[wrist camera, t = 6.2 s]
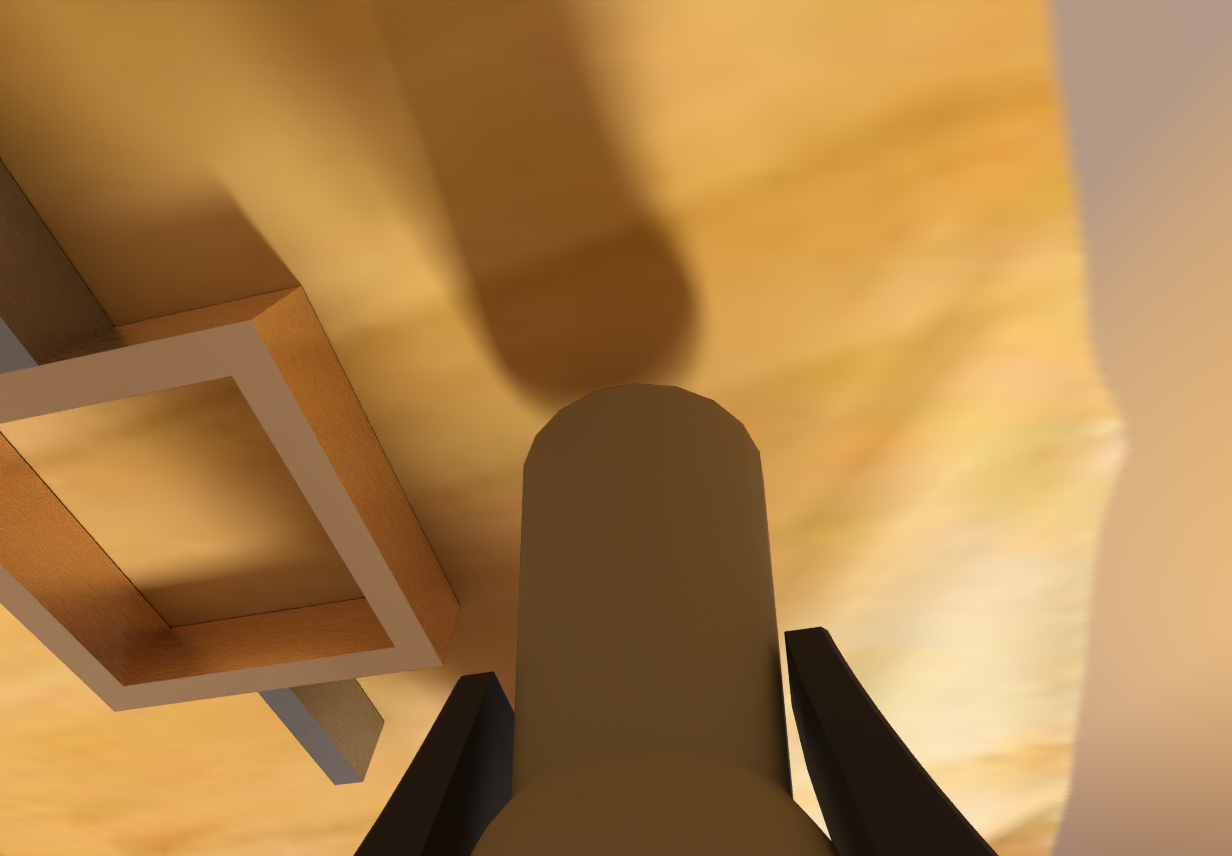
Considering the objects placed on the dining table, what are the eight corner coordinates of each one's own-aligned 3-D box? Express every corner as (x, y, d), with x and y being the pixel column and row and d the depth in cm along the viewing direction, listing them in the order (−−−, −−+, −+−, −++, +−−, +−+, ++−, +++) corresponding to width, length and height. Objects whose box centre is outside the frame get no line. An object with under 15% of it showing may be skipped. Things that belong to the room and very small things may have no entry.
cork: (483, 517, 16) (271, 1198, 6) (599, 335, 13) (520, 1088, 4) (674, 602, 17) (724, 1246, 8) (815, 458, 14) (1147, 1195, 5)
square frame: (509, 705, 25) (498, 765, 23) (241, 740, 26) (207, 800, 24) (168, 17, 13) (77, 7, 11) (-298, 149, 14) (-461, 164, 12)
